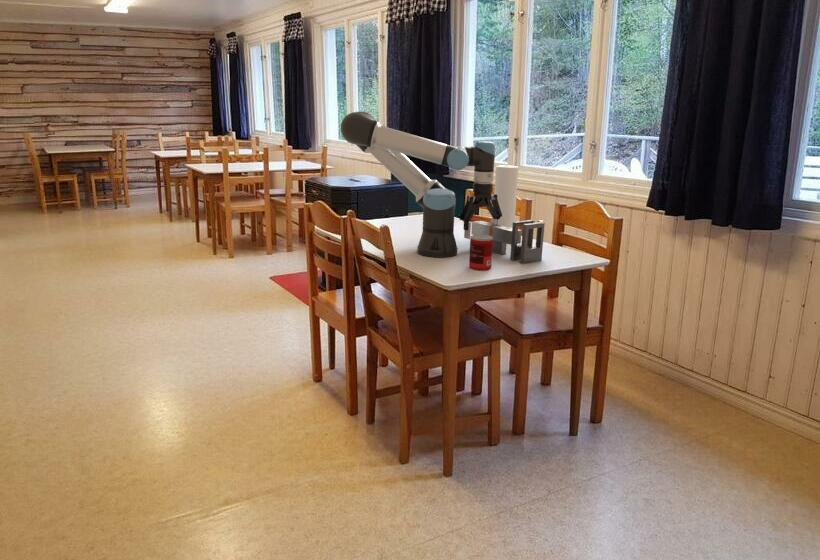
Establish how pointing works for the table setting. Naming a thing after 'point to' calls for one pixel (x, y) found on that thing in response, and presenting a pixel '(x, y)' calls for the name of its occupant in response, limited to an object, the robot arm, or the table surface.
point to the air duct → (495, 231)
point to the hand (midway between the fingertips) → (480, 236)
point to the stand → (499, 247)
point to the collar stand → (527, 242)
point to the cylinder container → (506, 193)
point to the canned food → (480, 252)
